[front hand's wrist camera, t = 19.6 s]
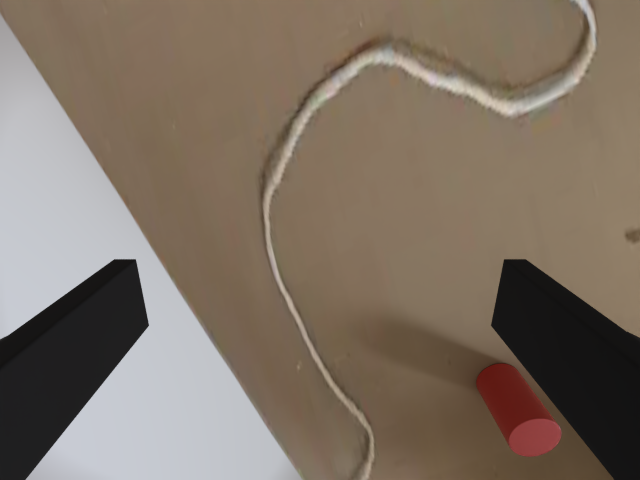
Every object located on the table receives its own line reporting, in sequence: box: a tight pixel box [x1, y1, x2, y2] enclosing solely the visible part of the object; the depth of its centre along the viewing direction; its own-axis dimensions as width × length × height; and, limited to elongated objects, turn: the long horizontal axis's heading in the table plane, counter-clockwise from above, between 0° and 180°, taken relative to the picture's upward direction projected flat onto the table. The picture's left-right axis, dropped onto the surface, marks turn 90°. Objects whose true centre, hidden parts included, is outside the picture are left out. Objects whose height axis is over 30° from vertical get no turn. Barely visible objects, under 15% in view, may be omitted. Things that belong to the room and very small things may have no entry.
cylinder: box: [476, 364, 561, 456], centre depth 45 cm, size 6×6×9 cm
